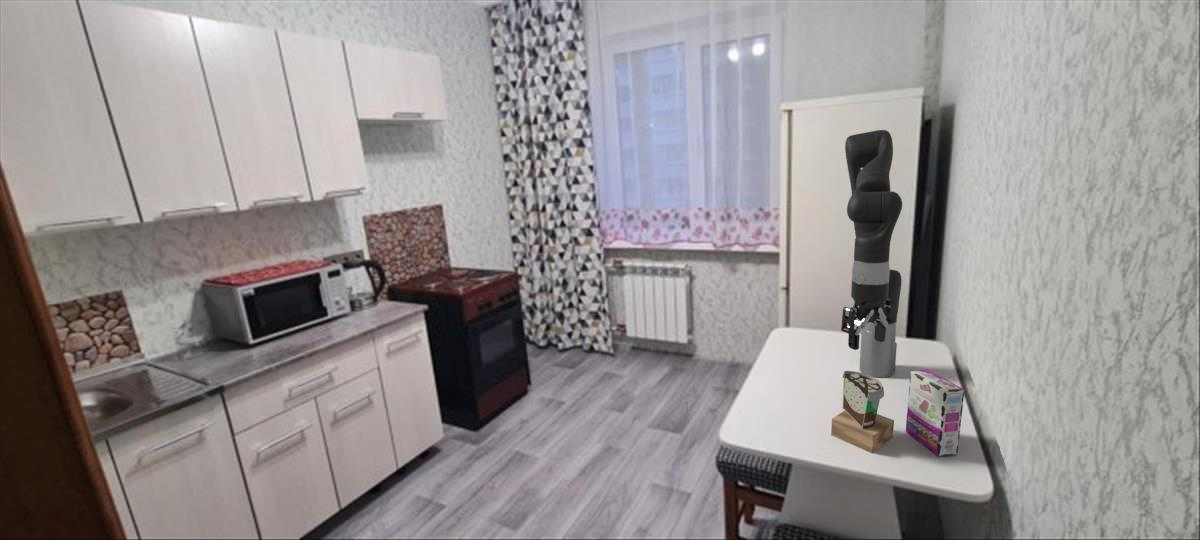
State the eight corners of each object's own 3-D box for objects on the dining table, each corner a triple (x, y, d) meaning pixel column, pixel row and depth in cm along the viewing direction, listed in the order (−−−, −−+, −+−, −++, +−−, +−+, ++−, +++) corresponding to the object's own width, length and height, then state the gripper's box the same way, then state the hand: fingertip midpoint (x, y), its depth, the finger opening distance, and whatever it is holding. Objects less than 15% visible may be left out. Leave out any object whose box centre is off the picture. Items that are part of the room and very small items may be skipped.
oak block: (852, 422, 127) (853, 405, 126) (892, 438, 119) (894, 420, 118) (831, 436, 122) (831, 418, 121) (871, 454, 114) (873, 435, 113)
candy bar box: (959, 455, 111) (966, 389, 107) (938, 457, 110) (945, 391, 107) (923, 429, 122) (928, 368, 118) (904, 431, 121) (909, 370, 117)
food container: (891, 431, 114) (896, 392, 111) (865, 432, 114) (870, 393, 111) (863, 404, 126) (867, 369, 123) (839, 405, 126) (843, 369, 123)
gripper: (877, 271, 118) (873, 333, 121) (833, 280, 112) (831, 346, 116) (907, 277, 111) (902, 343, 115) (862, 287, 106) (858, 357, 109)
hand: (866, 344), depth 115 cm, fingers open, 8 cm apart
